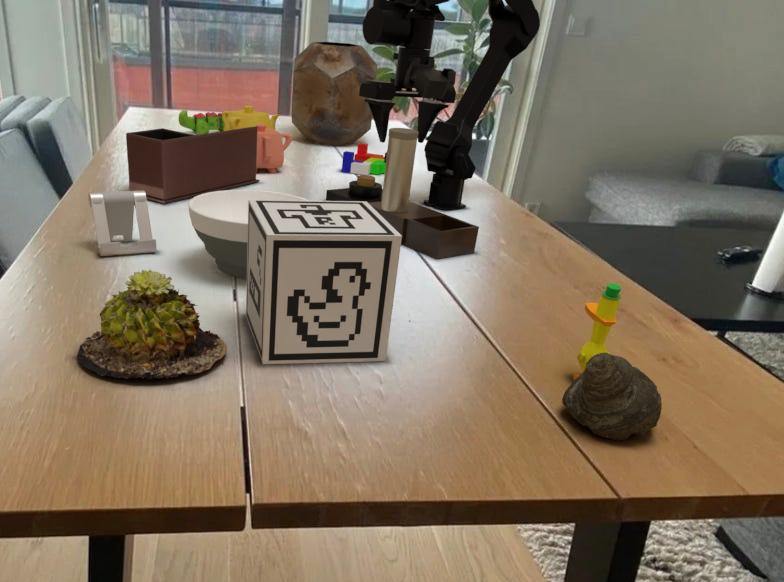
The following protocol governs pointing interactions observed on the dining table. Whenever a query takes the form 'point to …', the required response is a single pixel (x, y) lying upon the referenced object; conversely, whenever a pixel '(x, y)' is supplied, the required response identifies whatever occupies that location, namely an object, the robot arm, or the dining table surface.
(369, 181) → the button
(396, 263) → the block
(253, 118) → the teapot
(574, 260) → the dining table surface
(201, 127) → the toy crocodile
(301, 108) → the planter
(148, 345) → the cactus
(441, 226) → the stepped brown tray
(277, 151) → the teapot
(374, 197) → the yellow push button box
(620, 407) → the seashell
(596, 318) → the toy figure
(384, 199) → the tin
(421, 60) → the robot arm
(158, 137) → the desk organizer
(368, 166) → the building blocks
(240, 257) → the bowl
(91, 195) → the tablet stand
